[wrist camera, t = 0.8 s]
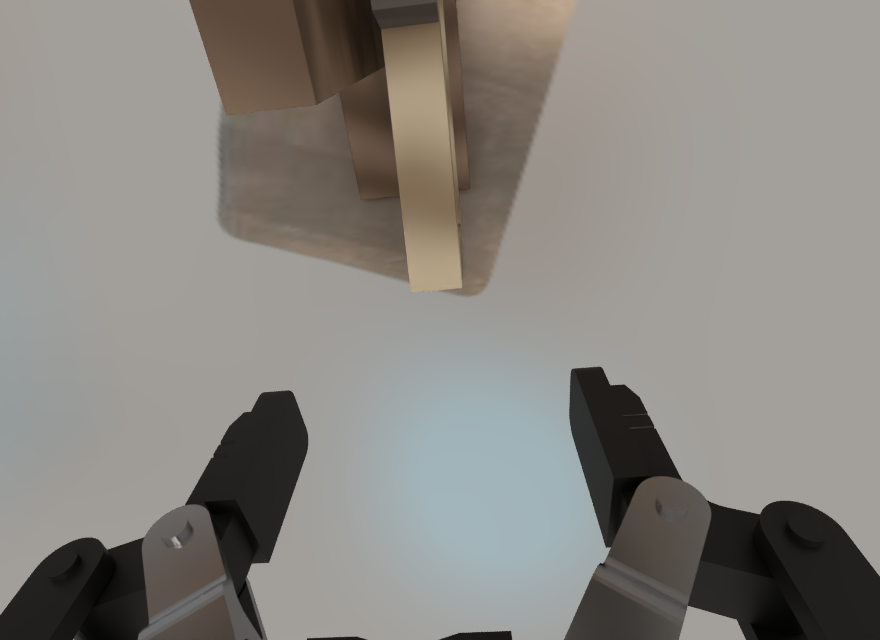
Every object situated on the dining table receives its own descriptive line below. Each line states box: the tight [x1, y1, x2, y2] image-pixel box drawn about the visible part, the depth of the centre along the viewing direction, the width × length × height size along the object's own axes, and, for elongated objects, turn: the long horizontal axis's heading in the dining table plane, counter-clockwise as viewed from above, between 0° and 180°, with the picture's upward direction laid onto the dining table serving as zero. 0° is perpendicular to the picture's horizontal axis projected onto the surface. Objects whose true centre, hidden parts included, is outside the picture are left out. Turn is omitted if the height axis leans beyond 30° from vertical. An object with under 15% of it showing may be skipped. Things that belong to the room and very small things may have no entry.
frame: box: [371, 0, 464, 292], centre depth 27 cm, size 24×2×18 cm, turn 7°
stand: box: [189, 0, 470, 200], centre depth 27 cm, size 30×11×32 cm, turn 6°
